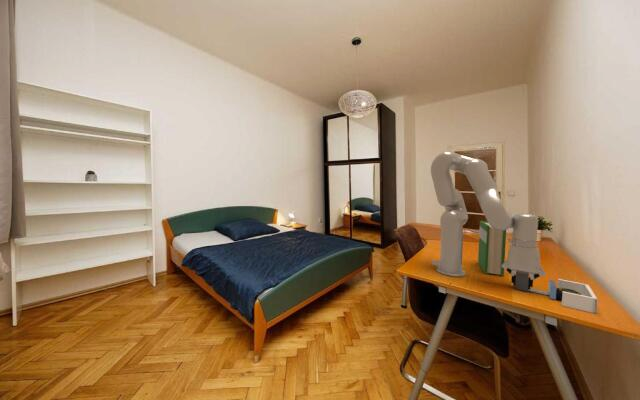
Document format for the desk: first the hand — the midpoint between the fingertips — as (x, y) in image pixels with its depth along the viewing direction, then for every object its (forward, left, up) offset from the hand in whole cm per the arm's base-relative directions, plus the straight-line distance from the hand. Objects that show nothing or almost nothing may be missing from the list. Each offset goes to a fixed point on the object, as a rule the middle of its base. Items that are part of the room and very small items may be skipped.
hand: (521, 285), depth 96 cm
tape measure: (+14, -1, -2) cm, 14 cm away
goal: (+15, 0, -1) cm, 15 cm away
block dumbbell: (+4, 0, -1) cm, 4 cm away
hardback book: (-13, +19, -1) cm, 23 cm away
